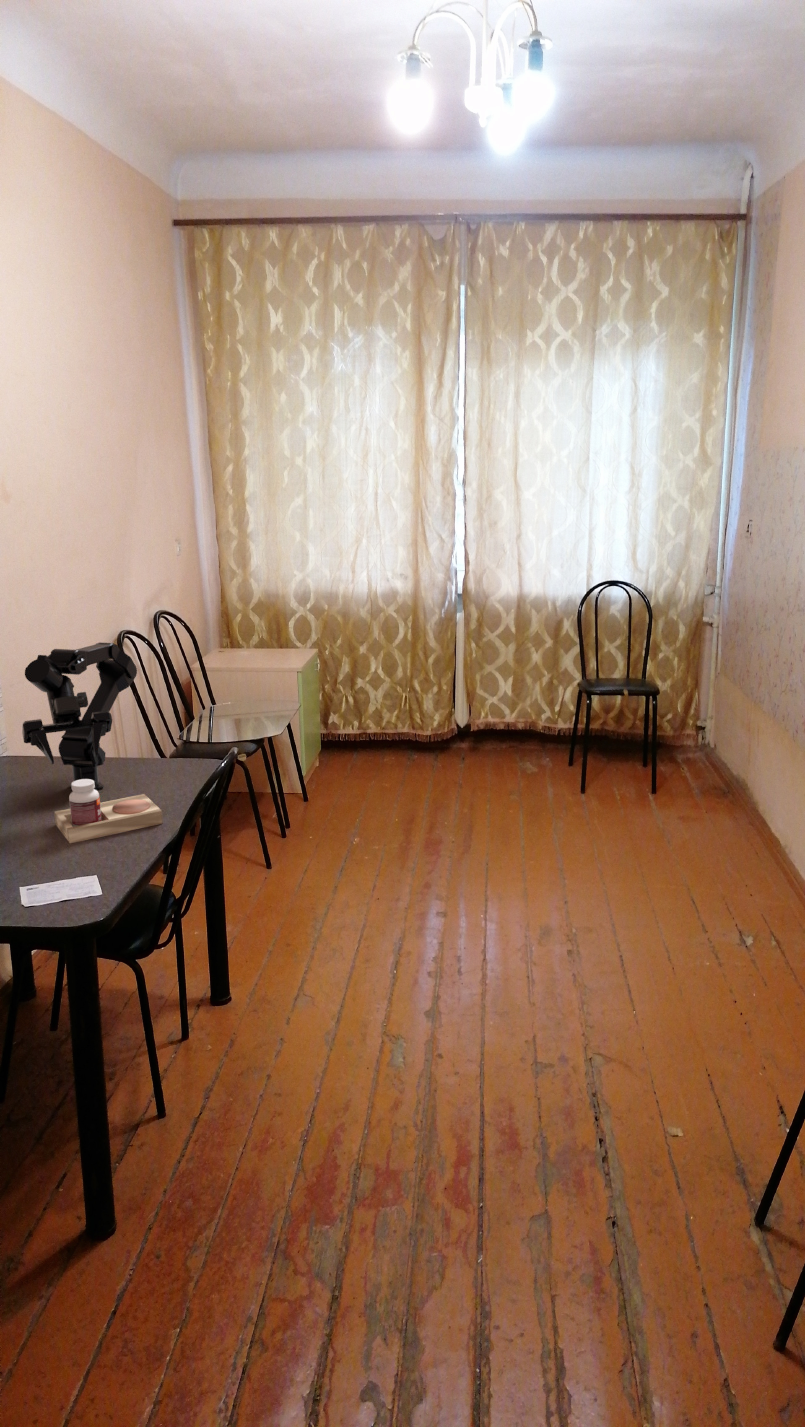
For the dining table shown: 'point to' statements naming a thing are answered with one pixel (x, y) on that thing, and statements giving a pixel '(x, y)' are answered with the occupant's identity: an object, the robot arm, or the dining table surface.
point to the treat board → (112, 818)
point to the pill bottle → (84, 803)
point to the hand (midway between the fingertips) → (74, 760)
